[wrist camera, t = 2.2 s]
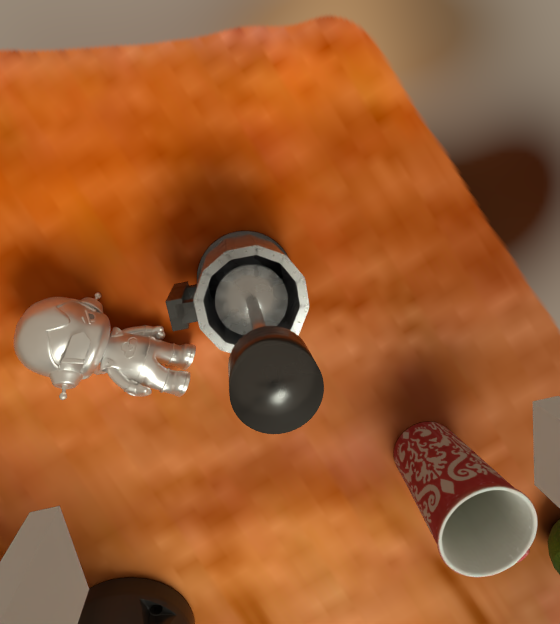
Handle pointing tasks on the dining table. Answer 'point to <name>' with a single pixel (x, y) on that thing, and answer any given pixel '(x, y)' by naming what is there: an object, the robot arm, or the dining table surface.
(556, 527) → the avocado
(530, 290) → the dining table surface
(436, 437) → the mug
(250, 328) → the plunger
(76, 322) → the figurine
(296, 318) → the grey coffee mug
